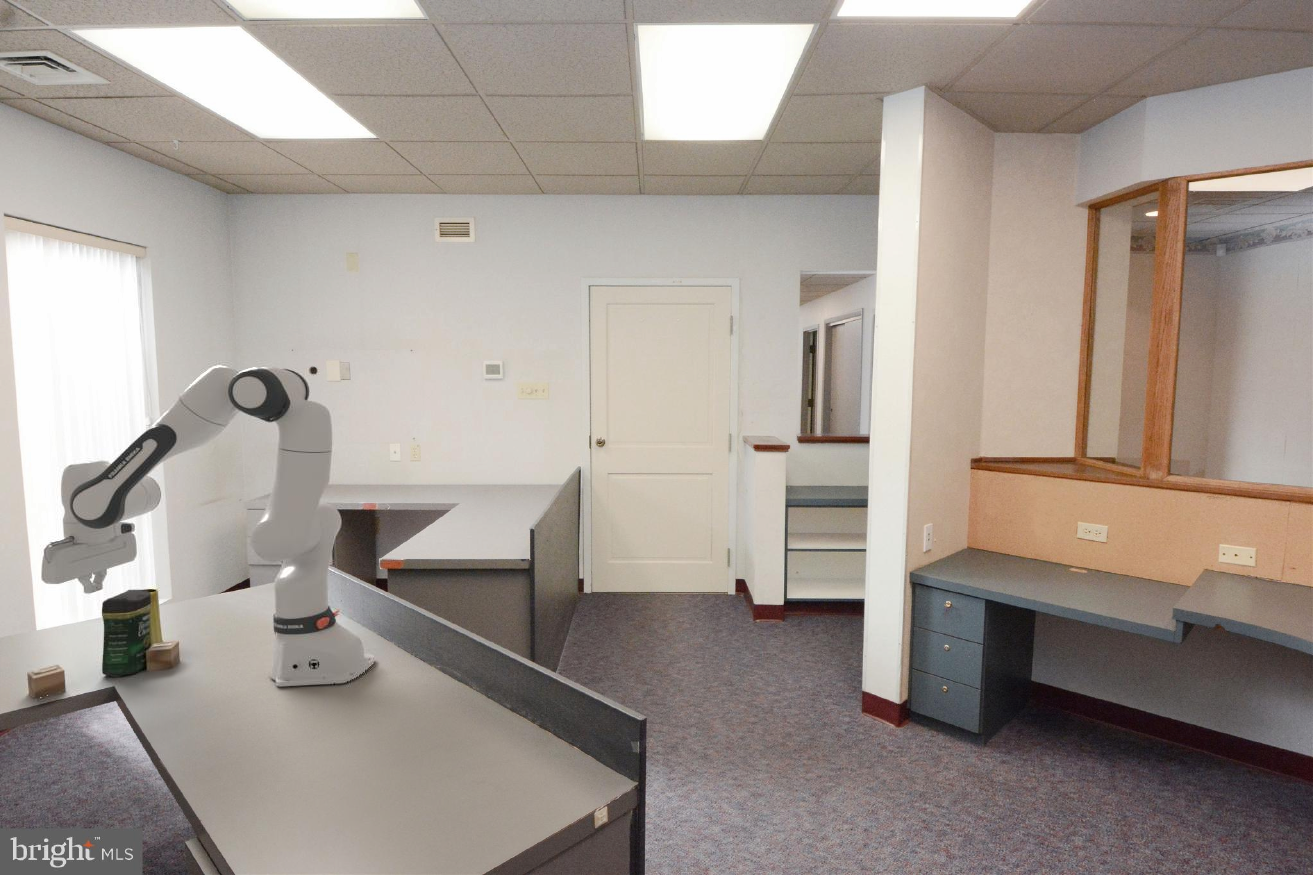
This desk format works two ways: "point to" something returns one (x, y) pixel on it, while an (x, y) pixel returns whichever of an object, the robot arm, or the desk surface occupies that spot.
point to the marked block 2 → (162, 656)
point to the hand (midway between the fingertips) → (93, 591)
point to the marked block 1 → (46, 681)
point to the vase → (155, 618)
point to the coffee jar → (126, 632)
